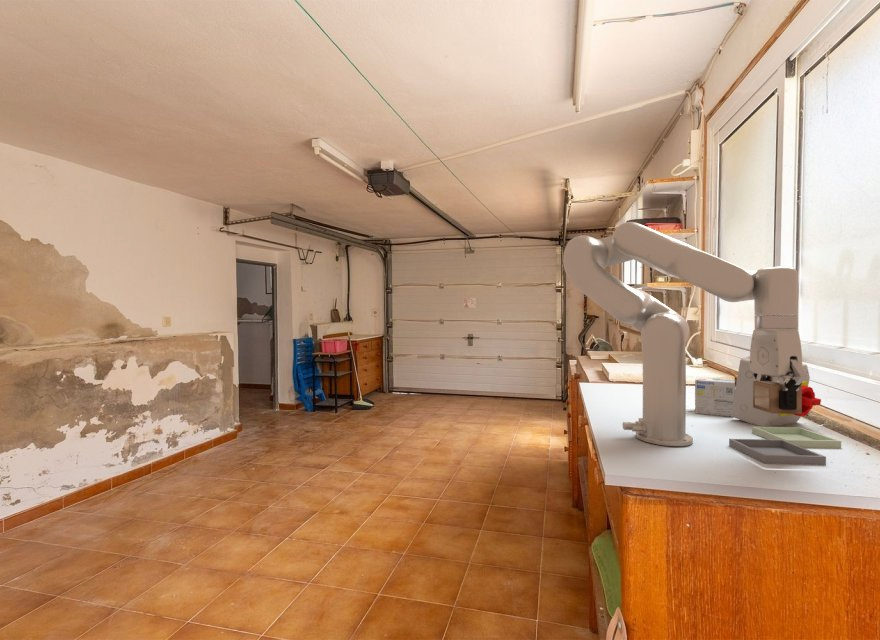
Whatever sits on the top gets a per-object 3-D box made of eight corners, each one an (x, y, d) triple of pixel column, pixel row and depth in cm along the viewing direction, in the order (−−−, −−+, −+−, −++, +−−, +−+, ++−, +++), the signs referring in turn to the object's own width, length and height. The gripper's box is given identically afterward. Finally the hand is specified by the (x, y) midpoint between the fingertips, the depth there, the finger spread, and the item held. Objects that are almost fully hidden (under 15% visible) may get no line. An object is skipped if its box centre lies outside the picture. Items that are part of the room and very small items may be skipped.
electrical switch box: (786, 442, 111) (800, 367, 108) (729, 420, 125) (740, 354, 122) (820, 436, 117) (834, 365, 114) (762, 416, 130) (773, 352, 127)
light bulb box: (734, 413, 135) (735, 379, 134) (735, 417, 129) (736, 382, 129) (695, 409, 140) (695, 376, 140) (694, 413, 135) (694, 379, 135)
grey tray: (764, 465, 88) (764, 455, 88) (729, 447, 100) (729, 438, 100) (825, 466, 88) (826, 456, 88) (782, 448, 100) (782, 439, 99)
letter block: (771, 413, 91) (771, 384, 91) (752, 407, 97) (752, 380, 97) (801, 413, 90) (801, 384, 90) (780, 407, 96) (780, 380, 96)
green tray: (786, 448, 99) (786, 440, 99) (752, 434, 111) (752, 426, 111) (841, 449, 98) (841, 441, 98) (800, 435, 110) (800, 427, 110)
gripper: (733, 323, 102) (734, 398, 102) (787, 324, 85) (787, 415, 85) (766, 323, 102) (766, 398, 102) (827, 324, 85) (827, 415, 85)
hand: (776, 405), depth 94 cm, fingers closed on letter block, 6 cm apart
